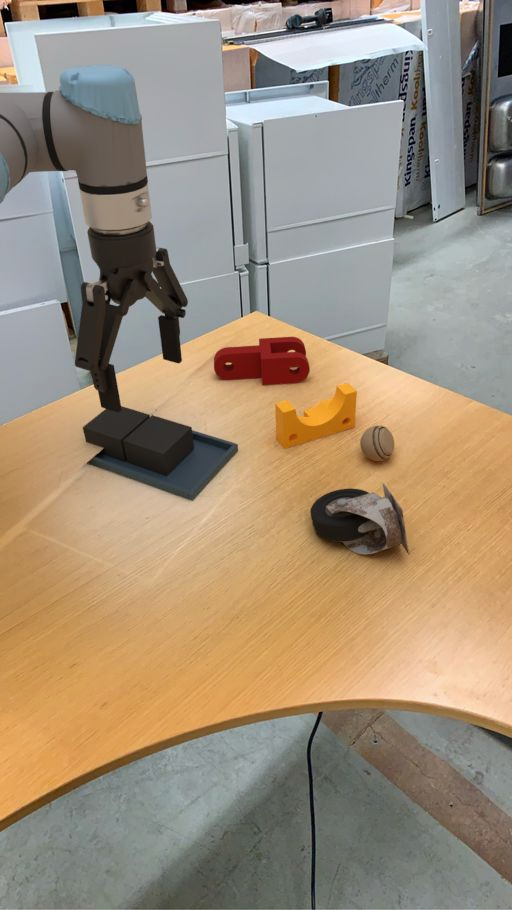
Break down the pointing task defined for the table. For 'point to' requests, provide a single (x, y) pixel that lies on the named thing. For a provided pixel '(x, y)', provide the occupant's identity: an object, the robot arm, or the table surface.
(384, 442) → the tan ball
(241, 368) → the mechanical linkage
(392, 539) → the caster wheel
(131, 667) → the table surface
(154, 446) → the dark rectangular block
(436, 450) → the table surface
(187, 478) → the dark blue tray
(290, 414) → the pipe clamp
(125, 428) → the pad
